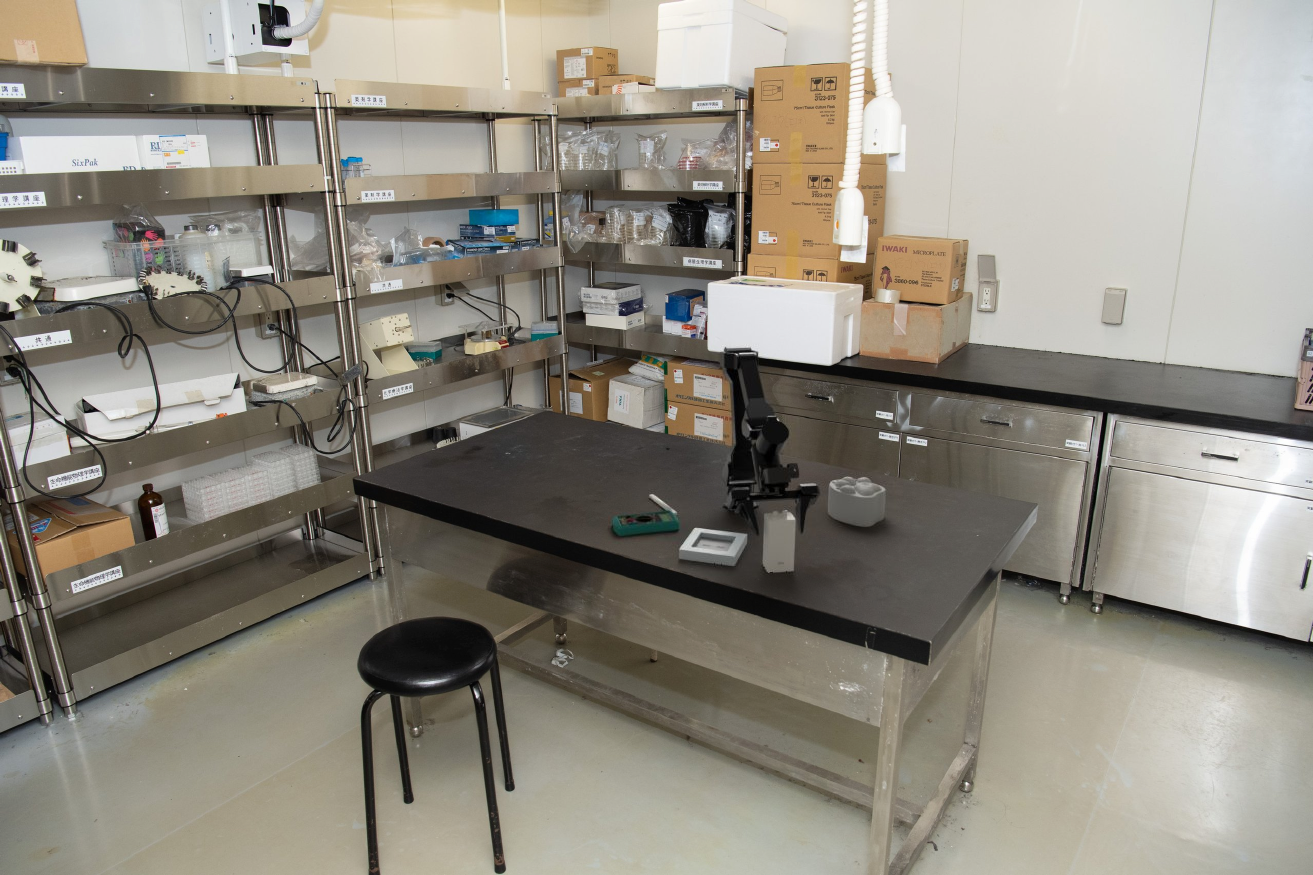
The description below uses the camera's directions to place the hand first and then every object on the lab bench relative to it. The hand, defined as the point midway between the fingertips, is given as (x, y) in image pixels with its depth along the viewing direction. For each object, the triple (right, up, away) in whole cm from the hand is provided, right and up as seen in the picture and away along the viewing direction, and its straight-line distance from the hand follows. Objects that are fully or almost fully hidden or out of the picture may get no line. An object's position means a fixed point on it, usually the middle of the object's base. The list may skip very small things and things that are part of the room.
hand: (779, 534), depth 177 cm
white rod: (-24, +3, +36) cm, 43 cm away
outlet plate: (-13, -5, +11) cm, 17 cm away
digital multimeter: (-28, -1, +24) cm, 36 cm away
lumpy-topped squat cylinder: (+22, +1, +29) cm, 36 cm away
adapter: (0, -7, +3) cm, 8 cm away
